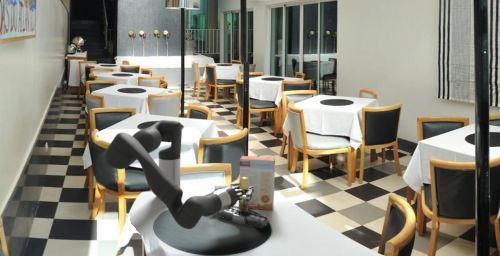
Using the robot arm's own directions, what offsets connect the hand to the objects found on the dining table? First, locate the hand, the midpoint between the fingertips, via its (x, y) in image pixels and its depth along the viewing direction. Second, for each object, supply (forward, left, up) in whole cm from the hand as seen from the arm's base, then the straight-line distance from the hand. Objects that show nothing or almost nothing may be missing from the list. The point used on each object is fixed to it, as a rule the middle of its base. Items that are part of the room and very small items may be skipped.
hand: (248, 187), depth 171 cm
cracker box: (-4, +14, -13) cm, 19 cm away
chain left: (-6, -2, -12) cm, 14 cm away
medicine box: (-14, +5, -13) cm, 20 cm away
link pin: (0, -3, -7) cm, 8 cm away
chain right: (+6, -2, -12) cm, 14 cm away
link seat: (0, -2, -12) cm, 13 cm away
